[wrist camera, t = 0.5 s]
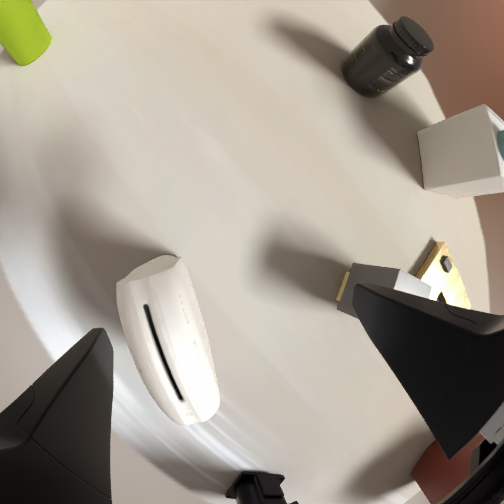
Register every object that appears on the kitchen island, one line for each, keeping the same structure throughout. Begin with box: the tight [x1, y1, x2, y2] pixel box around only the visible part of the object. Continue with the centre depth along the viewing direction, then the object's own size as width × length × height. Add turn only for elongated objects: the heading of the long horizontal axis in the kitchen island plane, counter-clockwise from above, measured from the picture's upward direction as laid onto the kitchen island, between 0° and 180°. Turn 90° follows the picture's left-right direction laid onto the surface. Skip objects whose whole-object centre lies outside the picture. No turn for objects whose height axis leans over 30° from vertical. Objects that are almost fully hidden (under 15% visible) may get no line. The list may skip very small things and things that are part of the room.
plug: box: [336, 263, 433, 319], centre depth 23 cm, size 5×5×9 cm
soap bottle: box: [417, 104, 504, 198], centre depth 21 cm, size 9×9×19 cm
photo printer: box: [116, 255, 220, 426], centre depth 18 cm, size 10×4×12 cm, turn 14°
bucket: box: [411, 432, 485, 504], centre depth 24 cm, size 24×22×25 cm
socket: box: [415, 242, 471, 309], centre depth 30 cm, size 14×14×2 cm
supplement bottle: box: [342, 16, 434, 98], centre depth 22 cm, size 7×7×12 cm
